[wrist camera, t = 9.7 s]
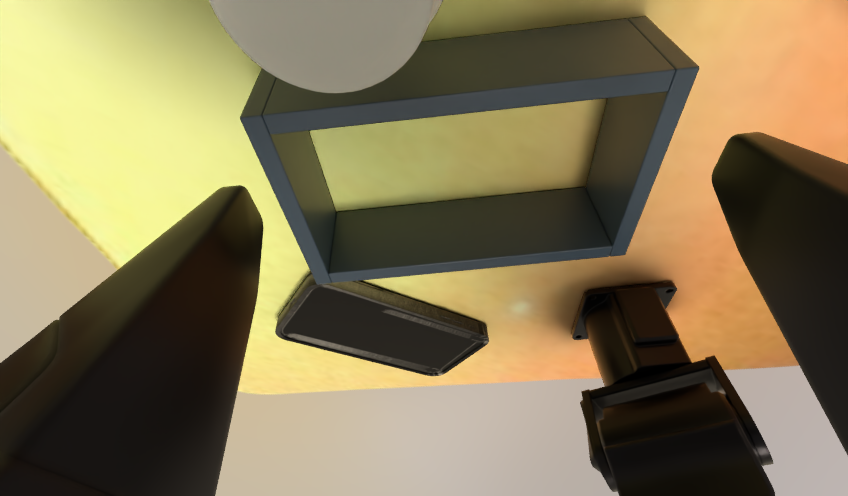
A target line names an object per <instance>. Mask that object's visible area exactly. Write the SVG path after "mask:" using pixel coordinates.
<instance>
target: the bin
mask: <svg viewBox="0 0 848 496" xmlns="http://www.w3.org/2000/svg"><path fill="white" fill-rule="evenodd" d="M698 70H699V66H698V65H697V64H696V63H695V62H694V61H693V60H691V59H690V58H689V57H688V56H687V55H686V54H685V53H684V52H683V51H682V50H681V49H680V48H679V47H678V46H677V45H676V44H675V43H674V42H673V41H672V40H671V39H670V38H668V37H667V36H666V35H665V34H664V33H663V32H662V31H661V30H660V29H659V28H658V27H657V26H656V25H655V24H654V23H653V22H652V21H651V20H650V19H649V18H648V17H646V16H645V17H637V18H629V19H618V20H609V21H600V22H592V23H583V24H574V25H566V26H557V27H548V28H539V29H531V30H522V31H513V32H505V33H496V34H487V35H479V36H470V37H461V38H453V39H444V40H435V41H427V42H420V44H419V46H418V48H417V49H416V51H415V52H414V53H413V55H412V56H411V57H410V58H409V60H408V61H407V62H406V63H405V64H404V65H403V66H402V67H401V68H400V69H399V70H398V71H396V72H395V73H394V74H392V75H391V76H390V77H388V78H387V79H385V80H384V81H381V82H379V83H377V84H375V85H373V86H371V87H368V88H365V89H362V90H359V91H354V92H346V93H323V92H316V91H312V90H308V89H304V88H300V87H297V86H295V85H292V84H289V83H287V82H285V81H283V80H281V79H279V78H277V77H275V76H274V75H272V74H270V73H269V72H267V71H266V70H264V69H263V68H262V69H261V72H260V74H259V76H258V78H257V81H256V83H255V85H254V87H253V89H252V92H251V94H250V96H249V98H248V101H247V103H246V105H245V107H244V110H243V112H242V114H241V116H240V120H241V122H242V124H243V126H244V128H245V131H246V133H247V135H248V137H249V139H250V141H251V143H252V146H253V148H254V150H255V152H256V154H257V156H258V159H259V161H260V163H261V165H262V167H263V169H264V171H265V174H266V176H267V178H268V180H269V182H270V184H271V187H272V189H273V191H274V193H275V195H276V197H277V199H278V202H279V204H280V206H281V208H282V210H283V212H284V215H285V217H286V219H287V221H288V223H289V225H290V227H291V230H292V232H293V234H294V236H295V238H296V240H297V243H298V245H299V247H300V249H301V251H302V253H303V256H304V258H305V260H306V262H307V264H308V266H309V268H310V271H311V273H312V275H313V277H314V279H315V281H316V284H328V283H338V282H348V281H359V280H369V279H380V278H390V277H401V276H411V275H422V274H432V273H443V272H453V271H463V270H474V269H484V268H495V267H505V266H516V265H526V264H537V263H547V262H558V261H568V260H579V259H589V258H600V257H608V256H620V255H625V254H626V251H627V249H628V246H629V244H630V241H631V239H632V236H633V234H634V231H635V229H636V226H637V224H638V221H639V219H640V216H641V214H642V211H643V209H644V206H645V204H646V201H647V199H648V196H649V194H650V191H651V189H652V186H653V184H654V181H655V178H656V176H657V173H658V171H659V168H660V166H661V163H662V161H663V158H664V156H665V153H666V151H667V148H668V146H669V143H670V141H671V138H672V136H673V133H674V131H675V128H676V126H677V123H678V121H679V118H680V116H681V113H682V111H683V108H684V106H685V103H686V100H687V98H688V95H689V93H690V90H691V88H692V85H693V83H694V80H695V78H696V75H697V73H698ZM603 98H608V99H607V103H606V107H605V111H604V115H603V119H602V123H601V127H600V131H599V135H598V140H597V144H596V148H595V152H594V156H593V160H592V164H591V168H590V172H589V176H588V180H587V184H586V188H585V187H581V188H572V189H562V190H552V191H542V192H532V193H522V194H512V195H503V196H493V197H483V198H473V199H463V200H453V201H443V202H434V203H424V204H414V205H404V206H394V207H384V208H374V209H365V210H355V211H345V212H337V213H336V211H335V208H334V205H333V202H332V199H331V196H330V193H329V190H328V187H327V184H326V181H325V178H324V176H323V173H322V170H321V167H320V164H319V161H318V158H317V155H316V152H315V149H314V146H313V143H312V140H311V137H310V134H309V131H308V130H317V129H327V128H336V127H345V126H354V125H363V124H373V123H382V122H391V121H400V120H409V119H419V118H428V117H437V116H446V115H455V114H465V113H474V112H483V111H492V110H501V109H511V108H520V107H529V106H538V105H547V104H557V103H566V102H575V101H584V100H593V99H603Z"/></svg>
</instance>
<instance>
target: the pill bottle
mask: <svg viewBox="0 0 848 496" xmlns="http://www.w3.org/2000/svg"><path fill="white" fill-rule="evenodd" d="M442 1H443V0H209V2H210V4H211V6H212V8H213V11H214V13H215V14H216V16H217V18H218V19H219V21H220V23H221V24H222V26H223V27H224V29H225V30H226V32H227V33H228V34H229V35H230V37H231V38H232V39H233V40H234V42H235V43H236V44H237V45H238V47H239V48H240V49H241V50H242V51H243V52H244V53H245V54H246V55H248V56H249V57H250V58H251V59H252V60H253V61H254V62H255V63H257V64H258V65H259V66H260V67H262V68H263V69H264V70H266V71H267V72H269V73H270V74H272V75H274V76H275V77H277V78H279V79H281V80H283V81H285V82H287V83H289V84H292V85H295V86H297V87H300V88H304V89H308V90H312V91H316V92H323V93H346V92H354V91H359V90H362V89H365V88H368V87H371V86H373V85H375V84H377V83H379V82H381V81H384V80H385V79H387V78H388V77H390V76H391V75H392V74H394V73H395V72H396V71H398V70H399V69H400V68H401V67H402V66H403V65H404V64H405V63H406V62H407V61H408V60H409V58H410V57H411V56H412V55H413V53H414V52H415V51H416V49H417V48H418V46H419V44H420V42H421V40H422V39H423V37H424V34H425V32H426V30H427V28H428V25H429V23H430V22H431V21H432V19H433V18H434V16H435V14H436V13H437V11H438V9H439V7H440V6H441V3H442Z"/></svg>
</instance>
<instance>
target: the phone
mask: <svg viewBox="0 0 848 496" xmlns="http://www.w3.org/2000/svg"><path fill="white" fill-rule="evenodd" d="M275 332H276V335H277V336H278V337H280V338H282V339H284V340H288V341H292V342H296V343H300V344H304V345H308V346H312V347H316V348H320V349H324V350H328V351H332V352H336V353H340V354H344V355H348V356H352V357H356V358H360V359H364V360H368V361H372V362H375V363H379V364H383V365H387V366H391V367H395V368H399V369H403V370H407V371H411V372H415V373H419V374H423V375H427V376H439V375H443V374H445V373H446V372H448V371H449V370H451V369H452V368H454V367H455V366H457V365H458V364H459V363H461V362H462V361H464V360H465V359H467V358H468V357H470V356H471V355H473V354H474V353H475V352H477V351H478V350H480V349H481V348H483V347H484V346H486V345H487V344H488V342H489V338H488V332H487V327H486V325H485V324H483V323H480V322H478V321H475V320H472V319H469V318H466V317H463V316H460V315H457V314H454V313H451V312H448V311H445V310H442V309H439V308H436V307H433V306H430V305H427V304H424V303H421V302H418V301H415V300H413V299H410V298H407V297H404V296H401V295H398V294H395V293H392V292H389V291H386V290H383V289H380V288H377V287H374V286H371V285H368V284H365V283H362V282H359V281H348V282H338V283H328V284H316V281H315V279H314V277H313V275H312V273H311V274H309V275H308V276H307V278H306V279H305V280H304V282H303V283H302V285H301V286H300V287H299V289H298V290H297V292H296V293H295V294H294V296H293V297H292V299H291V300H290V301H289V303H288V304H287V306H286V307H285V308H284V310H283V311H282V313H281V314H280V315H279V317H278V321H277V326H276V331H275Z"/></svg>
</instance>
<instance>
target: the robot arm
mask: <svg viewBox="0 0 848 496" xmlns="http://www.w3.org/2000/svg"><path fill="white" fill-rule="evenodd" d="M712 184H713V187H714V190H715V192H716V195H717V197H718V200H719V203H720V205H721V208H722V210H723V213H724V216H725V218H726V221H727V223H728V226H729V228H730V231H731V234H732V236H733V239H734V241H735V244H736V246H737V248H738V251H739V253H740V255H741V257H742V259H743V261H744V263H745V265H746V266H747V268H748V270H749V272H750V274H751V276H752V278H753V279H754V281H755V283H756V285H757V287H758V289H759V291H760V292H761V294H762V296H763V298H764V300H765V302H766V304H767V306H768V307H769V309H770V311H771V313H772V315H773V317H774V319H775V320H776V322H777V324H778V326H779V328H780V330H781V332H782V334H783V335H784V337H785V339H786V341H787V343H788V345H789V347H790V348H791V350H792V352H793V354H794V356H795V358H796V360H797V361H798V363H799V365H800V367H801V369H802V371H803V373H804V375H805V376H806V378H807V380H808V382H809V384H810V386H811V388H812V389H813V391H814V393H815V395H816V397H817V399H818V401H819V402H820V404H821V406H822V408H823V410H824V412H825V414H826V416H827V417H828V419H829V421H830V423H831V425H832V427H833V429H834V430H835V432H836V434H837V436H838V438H839V440H840V442H841V443H842V445H843V447H844V449H845V451H846V453H847V455H848V164H845V163H843V162H840V161H837V160H835V159H832V158H829V157H826V156H824V155H821V154H818V153H815V152H813V151H810V150H807V149H805V148H802V147H799V146H796V145H794V144H791V143H788V142H786V141H783V140H780V139H777V138H775V137H772V136H769V135H767V134H764V133H760V132H753V133H744V134H737V135H734V136H733V137H731V138H730V139H729V140H728V142H727V144H726V146H725V148H724V150H723V152H722V154H721V156H720V158H719V160H718V162H717V164H716V166H715V168H714V170H713V173H712ZM262 238H263V221H262V218H261V215H260V213H259V211H258V209H257V207H256V205H255V204H254V202H253V200H252V198H251V196H250V194H249V192H248V190H247V189H246V188H245V187H243V186H240V185H239V186H229V187H222V188H220V189H218V190H217V191H216V192H215V193H213V194H212V195H211V196H210V197H208V198H207V199H206V200H205V201H203V202H202V203H201V204H200V205H198V206H197V207H196V208H195V209H193V210H192V211H191V212H190V213H188V214H187V215H186V216H185V217H183V218H182V219H181V220H180V221H178V222H177V223H176V224H175V225H173V226H172V227H171V228H170V229H168V230H167V231H166V232H165V233H163V234H162V235H161V236H160V237H158V238H157V239H156V240H155V241H153V242H152V243H151V244H150V245H148V246H147V247H146V248H145V249H143V250H142V251H141V252H140V253H138V254H137V255H136V256H135V257H133V258H132V259H131V260H130V261H128V262H127V263H126V264H125V265H123V266H122V267H121V268H120V269H118V270H117V271H116V272H115V273H113V274H112V275H111V276H110V277H108V278H107V279H106V280H105V281H104V282H102V283H101V284H100V285H98V286H97V287H96V288H95V289H94V290H92V291H91V292H90V293H88V294H87V295H86V296H85V297H83V298H82V299H81V300H80V301H78V302H77V303H76V304H75V305H73V306H72V307H71V308H70V309H69V310H67V311H66V312H65V313H63V314H62V315H61V316H60V319H59V320H55V321H53V322H52V323H51V324H50V325H48V326H47V327H46V328H45V329H43V330H42V331H41V332H40V333H38V334H37V335H36V336H35V337H34V338H32V339H31V340H30V341H28V342H27V343H26V344H24V345H23V346H22V347H21V348H19V349H18V350H17V351H15V352H14V353H13V354H12V355H10V356H9V357H8V358H7V359H5V360H4V361H3V362H2V363H0V496H215V494H216V489H217V484H218V479H219V475H220V470H221V465H222V461H223V456H224V451H225V446H226V441H227V437H228V432H229V427H230V423H231V418H232V413H233V408H234V404H235V399H236V394H237V390H238V385H239V380H240V376H241V371H242V366H243V362H244V357H245V352H246V347H247V343H248V338H249V333H250V329H251V324H252V319H253V314H254V310H255V305H256V299H257V293H258V285H259V273H260V261H261V249H262ZM676 291H677V288H676V286H675V284H674V283H673V282H667V283H656V284H645V285H635V286H624V287H613V288H602V289H592V290H588V291H586V292H585V293H584V295H583V298H582V301H581V304H580V307H579V310H578V313H577V317H576V320H575V323H574V326H573V329H572V332H571V335H572V338H573V339H574V340H581V339H589V342H590V345H591V348H592V351H593V354H594V356H595V359H596V362H597V365H598V368H599V371H600V374H601V377H602V380H603V383H604V385H605V387H602V388H598V389H594V390H585V391H582V397H583V400H582V401H581V402H580V404H581V407H582V411H583V414H584V418H585V421H586V426H587V434H588V443H589V454H590V461H591V464H592V466H593V467H594V468H595V469H597V470H598V471H600V472H601V473H602V475H603V477H604V479H605V480H606V482H607V484H608V486H609V487H610V489H611V490H612V491H613V492H616V491H618V493H619V496H775V492H774V489H773V487H772V485H771V483H770V481H769V479H768V477H767V475H766V473H765V472H764V469H763V467H762V466H764V465H769V464H773V460H772V457H771V455H770V452H769V450H768V448H767V446H766V444H765V442H764V440H763V438H762V436H761V434H760V432H759V430H758V428H757V426H756V424H755V423H754V421H753V419H752V417H751V415H750V414H749V412H748V410H747V409H746V407H745V405H744V404H743V402H742V400H741V399H740V397H739V395H738V394H737V392H736V390H735V389H734V387H733V385H732V384H731V382H730V380H729V379H728V377H727V376H726V374H725V372H724V370H723V369H722V367H721V365H720V364H719V362H718V361H717V359H716V357H715V356H710V357H707V358H705V360H701V361H698V362H694V363H692V362H691V360H690V358H689V356H688V354H687V352H686V350H685V348H684V346H683V344H682V342H681V340H680V338H679V335H678V333H677V331H676V329H675V327H674V325H673V323H672V321H671V319H670V317H669V315H668V313H667V311H666V307H667V306H668V304H669V302H670V301H671V299H672V297H673V296H674V294H675V292H676ZM761 465H762V466H761Z"/></svg>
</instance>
